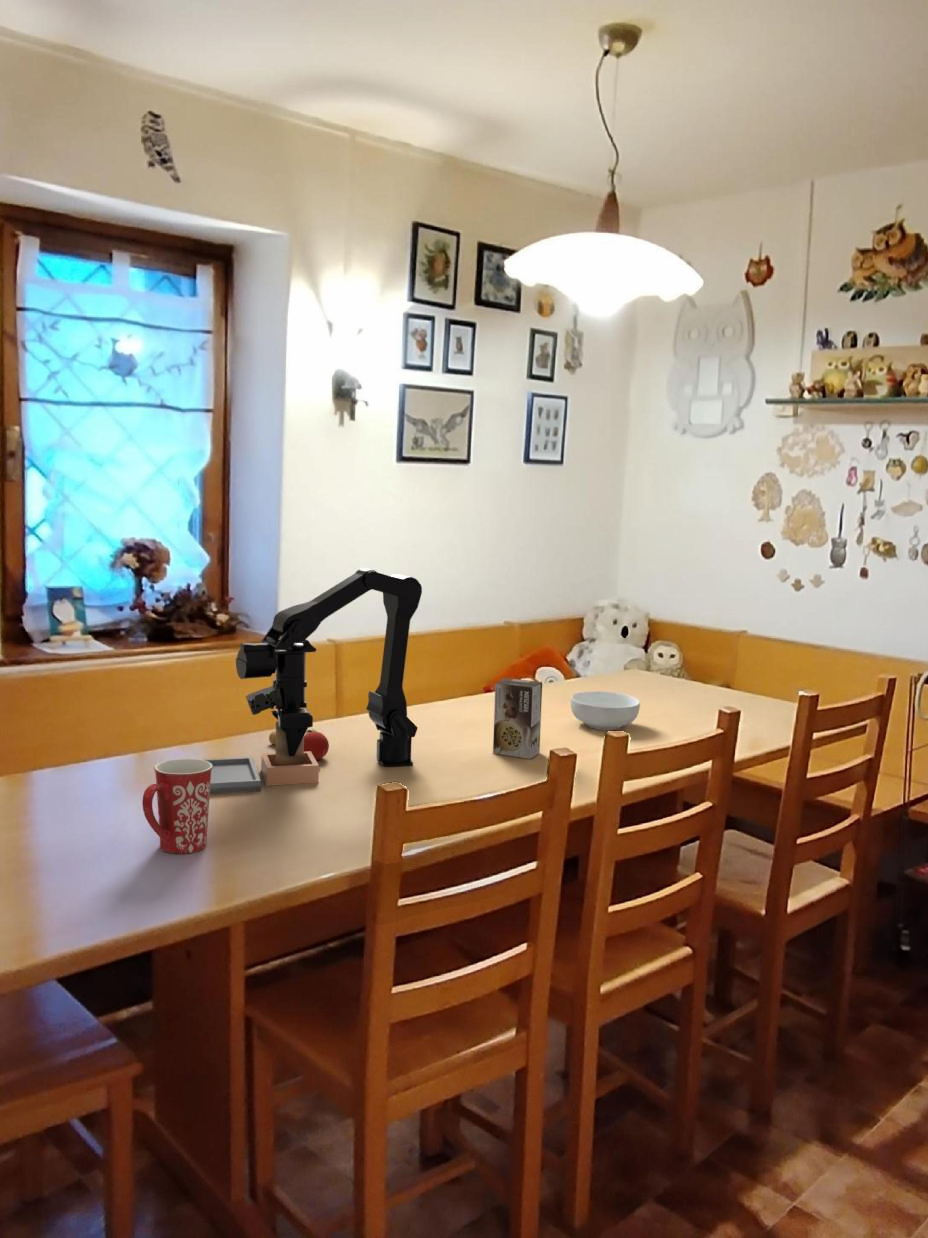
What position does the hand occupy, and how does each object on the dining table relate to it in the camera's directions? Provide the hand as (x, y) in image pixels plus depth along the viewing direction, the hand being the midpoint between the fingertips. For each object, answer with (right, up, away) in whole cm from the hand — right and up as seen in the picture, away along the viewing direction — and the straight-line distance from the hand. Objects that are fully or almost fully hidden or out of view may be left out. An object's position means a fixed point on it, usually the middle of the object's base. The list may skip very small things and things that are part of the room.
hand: (289, 752), depth 205 cm
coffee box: (+46, -4, +24) cm, 52 cm away
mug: (-12, -11, -39) cm, 42 cm away
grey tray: (-12, -5, -3) cm, 13 cm away
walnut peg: (0, -5, +1) cm, 5 cm away
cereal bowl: (+69, 0, +50) cm, 86 cm away
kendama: (-1, -3, +18) cm, 18 cm away
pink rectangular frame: (0, -5, +1) cm, 5 cm away
